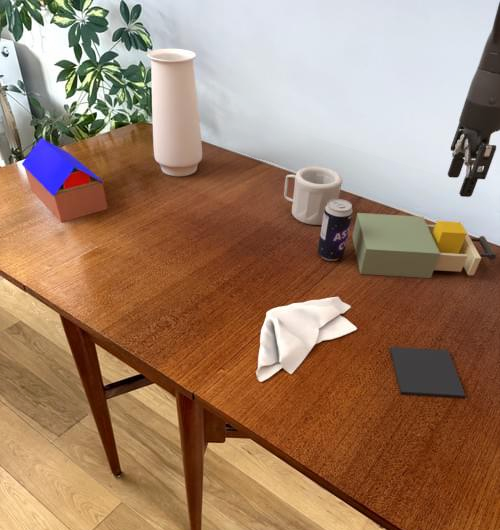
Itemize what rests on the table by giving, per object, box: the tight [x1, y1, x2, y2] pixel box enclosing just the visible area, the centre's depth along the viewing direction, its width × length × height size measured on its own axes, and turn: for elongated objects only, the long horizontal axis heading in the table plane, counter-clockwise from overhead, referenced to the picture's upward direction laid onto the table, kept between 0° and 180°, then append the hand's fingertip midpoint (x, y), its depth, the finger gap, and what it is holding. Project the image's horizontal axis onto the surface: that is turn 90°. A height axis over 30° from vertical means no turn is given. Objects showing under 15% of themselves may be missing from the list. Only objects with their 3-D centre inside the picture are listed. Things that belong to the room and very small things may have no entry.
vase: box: [147, 48, 203, 177], centre depth 119 cm, size 13×13×28 cm
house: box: [21, 137, 108, 223], centre depth 110 cm, size 12×20×12 cm, turn 38°
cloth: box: [255, 296, 358, 383], centre depth 81 cm, size 26×14×2 cm, turn 130°
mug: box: [283, 166, 343, 226], centre depth 110 cm, size 14×11×10 cm
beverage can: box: [317, 198, 354, 262], centre depth 96 cm, size 6×6×12 cm
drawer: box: [426, 223, 497, 276], centre depth 99 cm, size 18×13×4 cm
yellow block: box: [432, 220, 468, 254], centre depth 97 cm, size 5×4×6 cm
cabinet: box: [351, 212, 440, 279], centre depth 99 cm, size 15×15×6 cm
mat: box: [389, 346, 466, 399], centre depth 76 cm, size 10×10×1 cm
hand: (458, 186), depth 92 cm, fingers open, 8 cm apart
